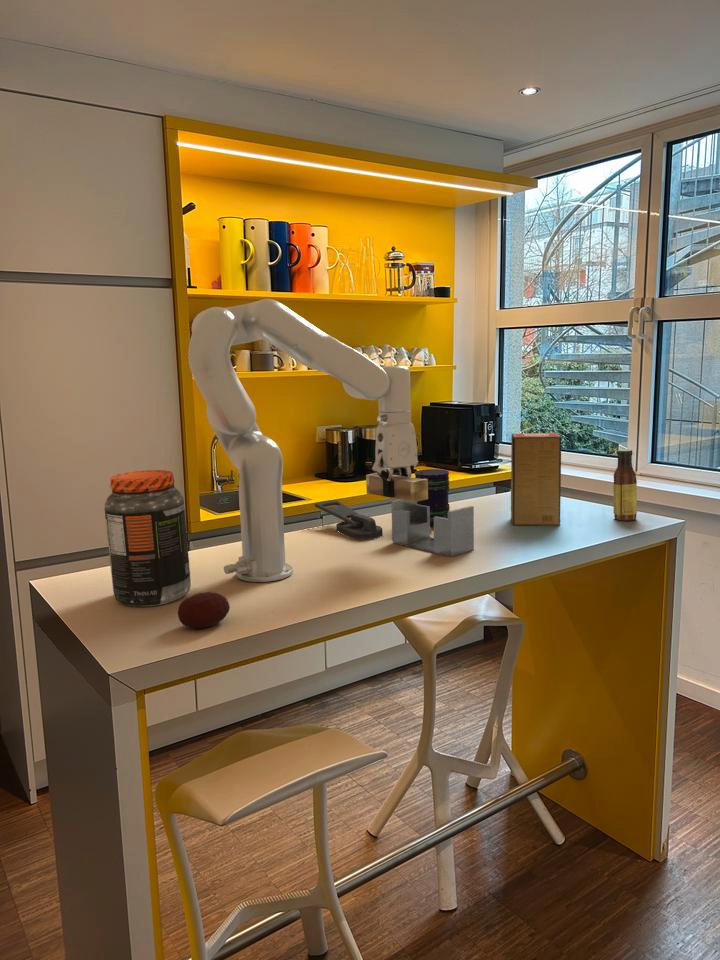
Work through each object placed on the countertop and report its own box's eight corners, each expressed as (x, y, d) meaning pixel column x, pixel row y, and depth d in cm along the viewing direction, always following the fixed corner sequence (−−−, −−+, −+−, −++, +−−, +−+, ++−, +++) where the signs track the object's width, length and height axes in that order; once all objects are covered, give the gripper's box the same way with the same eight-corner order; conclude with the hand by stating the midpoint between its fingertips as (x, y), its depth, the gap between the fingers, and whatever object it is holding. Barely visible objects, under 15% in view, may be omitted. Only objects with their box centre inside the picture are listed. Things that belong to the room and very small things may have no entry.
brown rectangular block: (413, 502, 168) (413, 481, 168) (366, 493, 180) (366, 474, 179) (427, 499, 172) (427, 479, 171) (380, 490, 183) (380, 472, 182)
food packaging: (556, 518, 213) (558, 432, 209) (561, 525, 204) (562, 436, 200) (510, 518, 215) (510, 432, 211) (512, 525, 206) (512, 436, 201)
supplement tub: (172, 580, 165) (163, 465, 161) (204, 596, 153) (196, 473, 148) (101, 595, 155) (90, 474, 151) (130, 615, 143) (118, 484, 139)
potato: (171, 627, 136) (169, 595, 135) (220, 613, 143) (218, 583, 141) (189, 638, 131) (187, 604, 130) (239, 623, 137) (237, 591, 136)
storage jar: (447, 518, 217) (446, 468, 214) (452, 526, 207) (452, 474, 204) (413, 520, 216) (412, 469, 214) (417, 527, 207) (416, 475, 204)
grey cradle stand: (451, 557, 176) (450, 512, 175) (392, 542, 191) (391, 501, 189) (473, 549, 182) (473, 506, 180) (414, 536, 197) (414, 496, 195)
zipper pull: (337, 498, 218) (387, 512, 197) (338, 520, 219) (387, 536, 198) (311, 502, 213) (359, 517, 192) (312, 525, 214) (360, 542, 194)
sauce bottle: (640, 518, 210) (642, 449, 206) (631, 522, 205) (633, 452, 202) (617, 515, 214) (619, 447, 211) (608, 519, 209) (610, 450, 206)
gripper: (379, 422, 164) (381, 502, 168) (431, 416, 176) (432, 492, 179) (357, 421, 170) (359, 498, 173) (408, 415, 181) (409, 488, 184)
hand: (396, 494), depth 176 cm, fingers closed on brown rectangular block, 4 cm apart
